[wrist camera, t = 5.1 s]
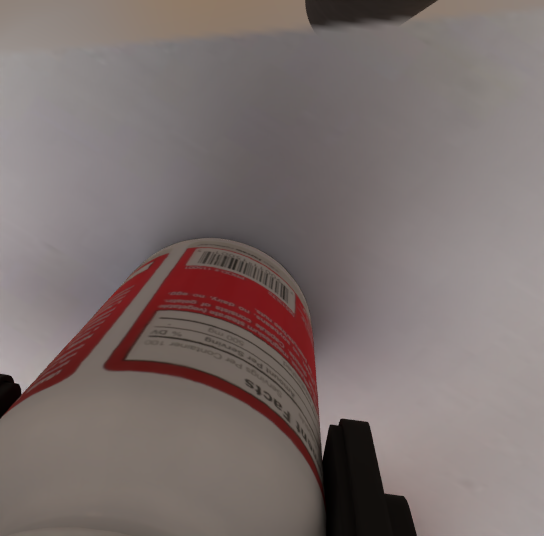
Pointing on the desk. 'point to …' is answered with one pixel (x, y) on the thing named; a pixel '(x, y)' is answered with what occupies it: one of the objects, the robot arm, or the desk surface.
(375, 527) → the robot arm
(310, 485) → the pill bottle
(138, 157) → the desk surface
